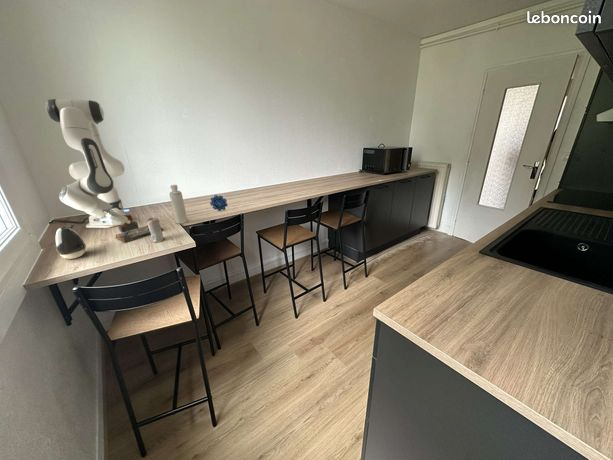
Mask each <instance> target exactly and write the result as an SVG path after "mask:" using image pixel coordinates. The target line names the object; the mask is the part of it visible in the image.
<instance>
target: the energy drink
mask: <svg viewBox="0 0 613 460" xmlns="http://www.w3.org/2000/svg"><path fill="white" fill-rule="evenodd" d="M146 223H147V225H148V227H149V230H150V238H151V240H152V242H153V243H159V242H162V241H164V239H165V237H164V234H163V231H162V230H161V228H162V226H161V222H160V219H159V217H151V218H148V219H147V220H146Z"/></svg>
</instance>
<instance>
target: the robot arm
mask: <svg viewBox="0 0 613 460" xmlns="http://www.w3.org/2000/svg"><path fill="white" fill-rule="evenodd" d="M45 111H46V114H47V115H48V117H49V118H50V119H51V120H52V121H54V122H56V123H59V125H60V131H61V134H62V137H63V139H64V142H65V143H66V145H67V146H68V147H70V148H71V149H73V150H76V151H78V152H80V153H81V154H82V155H83V157H84V159H85V160H80V161H76V162H73V163H70V165H69V166H68V174H69V175H70V176H71V178H73V179H74V180H76V181H74V182H72V183H70V184H66V185H64V186H62V188H61V189H60V191H59V193H58V199H59V200H60V202H62V203H63V204H65V205H67V206H69V207H71V208H73V209H75V210H78V211H82V212H84V213H86V214H88V215H89V216H88V217H85V218H83V219H82V221H77V220H66V219H64V220H63V219H52V220H50V221H51V222H50V221H49V222H48V223H49V224H48V225H50V224H51V223H54V222H55V223H56V222H57V223H58V222H60V223H72V224H73V223H75V224H83V223H85V222H86V220H87V221H88V223H87V224H86V225H85V228H86V229H109V228H113V227H116V226H117V227H118V226H120V225H121V223H123V224H124V223H125V222H126V223H128V224H129V223H130V222H131V221H130V220H128V218H127V217H125V216H124V215H127V213H126V212H129V211H130V209H124V206H123V205H124V204H123V202H122V200H121V199H120V195H119V193H118V190H117V188H116V187H115V185H114V183H115V182H114V180H113V178H116V177H119V176H122V175H124V174H125V166H124V164H123V162H122V161H121V160H119V159H118V158H116V157H114V156H112V155H111V154H110V153H109V152H108V151H107V150H106V148H105V146H104V144H103V141H102V138H101V134H100V131H99V129H98V127H97V125H99V123H102V122H103V121H104V120H105V119H104V118H105V111H104V109H103V107H102V106H101V104H100V103H99V102H98V101H96V100H95V101H94V100H90V99H88V100H86V99H78V98H72V99H71V98H63V99H62V98H59V99H56V98H50V99H48V100H46V101H45Z"/></svg>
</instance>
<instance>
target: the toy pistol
mask: <svg viewBox="0 0 613 460" xmlns="http://www.w3.org/2000/svg"><path fill="white" fill-rule="evenodd" d="M161 230H162V232H163V231H164V229H163V227H161ZM148 236H151V234H150V230H149V227H148V224H147V225H144V226H140V227H139V228H137V229H134V230H130V231H127V232H123V233H122V232H120V233H118V234H115V237H116V238H117V239H118V240H119V241H121V242H122V243H128V242H131V241H134V240H138V239H140V238H144V237H148Z"/></svg>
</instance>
